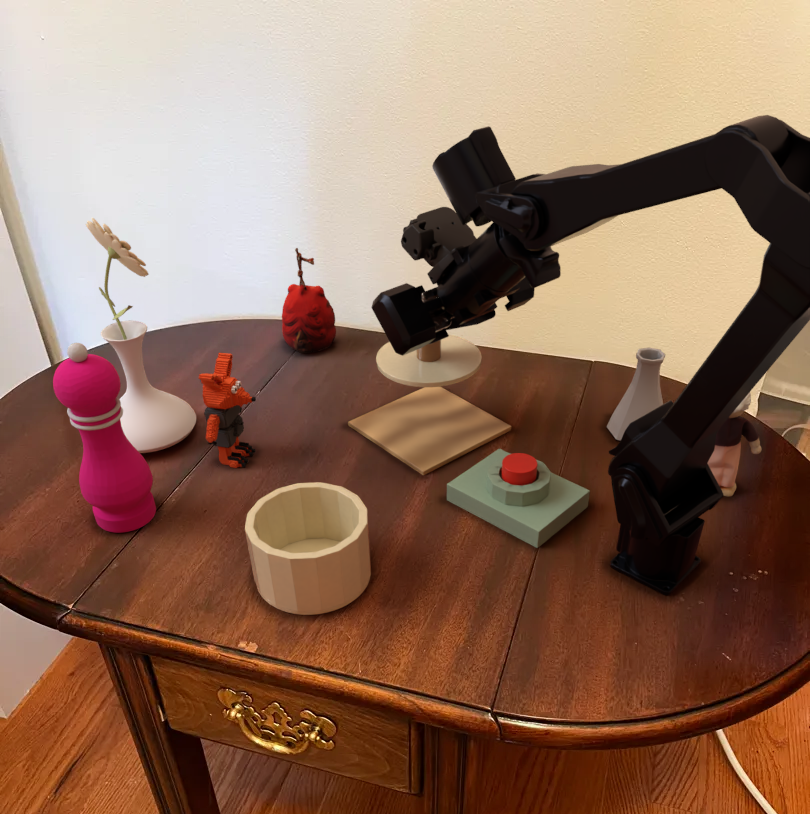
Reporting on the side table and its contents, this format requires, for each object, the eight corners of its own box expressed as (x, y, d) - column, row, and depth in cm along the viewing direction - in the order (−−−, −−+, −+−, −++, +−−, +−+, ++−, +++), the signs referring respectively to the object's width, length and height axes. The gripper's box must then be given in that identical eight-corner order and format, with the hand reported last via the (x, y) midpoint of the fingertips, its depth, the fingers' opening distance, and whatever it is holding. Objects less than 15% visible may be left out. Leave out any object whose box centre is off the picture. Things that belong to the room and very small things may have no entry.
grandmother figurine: (739, 476, 92) (768, 373, 84) (751, 497, 89) (782, 393, 81) (669, 479, 92) (692, 376, 84) (679, 500, 89) (704, 396, 81)
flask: (663, 414, 102) (679, 339, 96) (672, 447, 97) (689, 370, 90) (603, 412, 103) (615, 338, 97) (608, 445, 98) (621, 368, 91)
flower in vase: (207, 449, 99) (163, 238, 83) (108, 471, 96) (42, 257, 80) (187, 397, 108) (144, 198, 92) (96, 416, 105) (35, 214, 89)
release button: (543, 475, 87) (544, 461, 86) (522, 491, 85) (523, 477, 84) (515, 462, 89) (516, 448, 88) (494, 477, 87) (495, 463, 86)
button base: (587, 507, 89) (592, 476, 86) (537, 548, 84) (540, 517, 81) (498, 464, 95) (500, 434, 93) (446, 500, 90) (446, 470, 88)
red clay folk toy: (341, 335, 121) (333, 231, 111) (331, 358, 115) (322, 251, 106) (289, 333, 121) (277, 229, 112) (277, 356, 116) (263, 249, 106)
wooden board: (511, 430, 100) (511, 426, 100) (423, 475, 94) (423, 471, 93) (434, 386, 109) (434, 382, 108) (348, 425, 102) (347, 421, 102)
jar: (394, 571, 82) (392, 514, 77) (309, 633, 76) (301, 576, 71) (317, 523, 88) (310, 468, 83) (232, 577, 82) (220, 521, 77)
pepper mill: (91, 542, 86) (30, 367, 73) (92, 501, 92) (36, 332, 79) (162, 529, 88) (115, 355, 75) (159, 489, 93) (115, 321, 80)
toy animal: (251, 481, 94) (234, 386, 86) (206, 474, 95) (186, 380, 87) (277, 442, 100) (264, 350, 92) (235, 436, 101) (218, 345, 93)
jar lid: (481, 393, 91) (483, 336, 86) (371, 391, 92) (368, 335, 87) (481, 342, 100) (483, 288, 96) (381, 341, 101) (378, 287, 96)
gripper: (522, 168, 85) (448, 247, 99) (379, 212, 76) (319, 292, 90) (573, 266, 85) (492, 331, 99) (437, 321, 76) (368, 384, 90)
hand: (420, 332), depth 94 cm, fingers closed on jar lid, 3 cm apart
